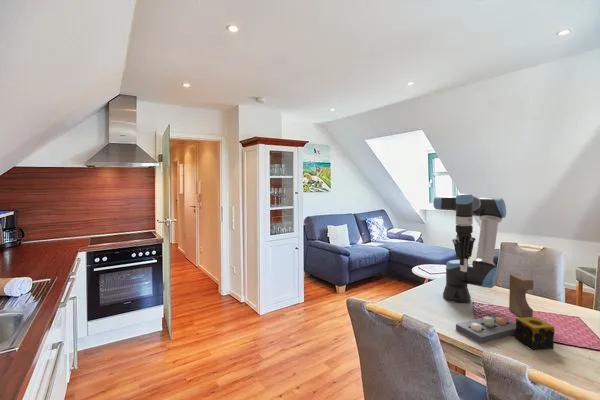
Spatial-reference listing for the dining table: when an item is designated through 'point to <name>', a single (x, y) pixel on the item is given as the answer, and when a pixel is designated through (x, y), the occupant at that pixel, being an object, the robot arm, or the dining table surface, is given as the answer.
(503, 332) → the panel
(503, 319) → the terracotta button
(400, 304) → the dining table surface
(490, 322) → the sage button
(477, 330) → the cream button
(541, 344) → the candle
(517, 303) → the decorative block
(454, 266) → the robot arm
